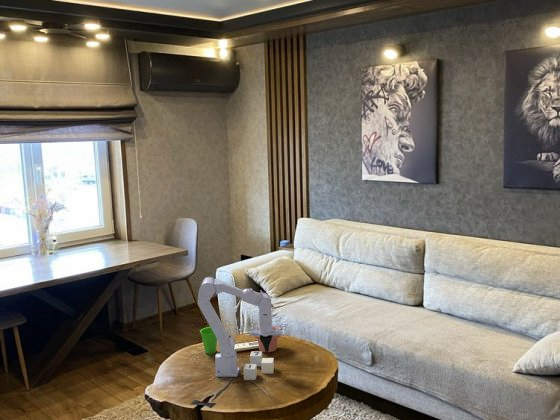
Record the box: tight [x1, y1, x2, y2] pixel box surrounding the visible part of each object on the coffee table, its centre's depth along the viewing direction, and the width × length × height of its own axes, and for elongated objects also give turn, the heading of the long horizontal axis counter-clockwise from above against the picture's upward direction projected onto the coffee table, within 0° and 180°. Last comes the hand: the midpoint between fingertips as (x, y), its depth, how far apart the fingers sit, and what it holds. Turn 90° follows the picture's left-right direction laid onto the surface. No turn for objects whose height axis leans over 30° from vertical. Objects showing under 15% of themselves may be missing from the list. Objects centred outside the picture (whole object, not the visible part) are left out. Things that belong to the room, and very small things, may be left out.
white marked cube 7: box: [249, 350, 263, 367], centre depth 259 cm, size 5×5×5 cm
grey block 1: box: [243, 363, 258, 381], centre depth 247 cm, size 5×5×5 cm
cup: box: [199, 326, 218, 355], centre depth 274 cm, size 9×9×11 cm
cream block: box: [260, 357, 275, 374], centre depth 252 cm, size 5×5×5 cm
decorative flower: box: [253, 289, 282, 353], centre depth 272 cm, size 15×14×30 cm
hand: (267, 350), depth 251 cm, fingers closed
